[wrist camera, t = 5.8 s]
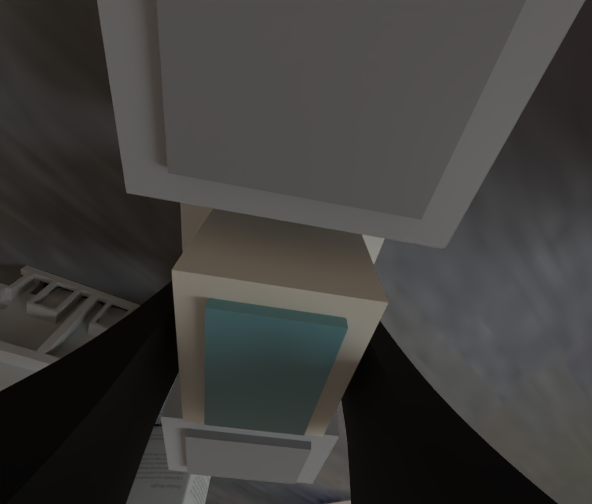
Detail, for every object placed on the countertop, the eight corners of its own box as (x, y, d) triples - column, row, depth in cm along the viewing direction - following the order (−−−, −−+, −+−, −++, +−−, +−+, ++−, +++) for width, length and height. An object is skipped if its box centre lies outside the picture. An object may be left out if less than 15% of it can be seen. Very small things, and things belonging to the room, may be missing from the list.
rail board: (463, 8, 9) (764, -123, 3) (321, 372, 20) (329, 496, 14) (184, -64, 8) (-101, -410, 2) (193, 355, 19) (145, 479, 13)
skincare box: (157, 454, 27) (114, 565, 21) (137, 423, 24) (79, 543, 18) (217, 454, 27) (192, 566, 21) (205, 423, 24) (171, 545, 18)
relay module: (347, 198, 11) (392, 313, 6) (315, 307, 14) (323, 446, 9) (234, 177, 10) (165, 279, 5) (226, 294, 14) (179, 432, 8)
